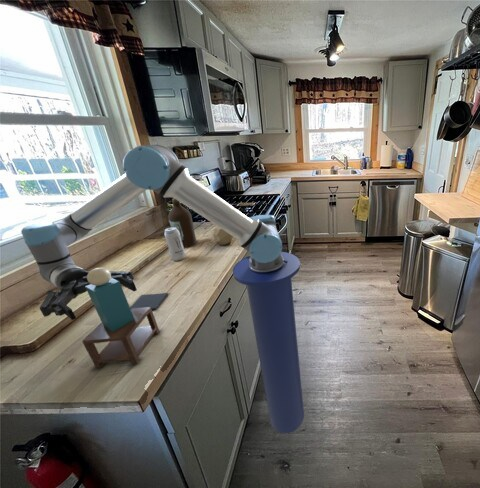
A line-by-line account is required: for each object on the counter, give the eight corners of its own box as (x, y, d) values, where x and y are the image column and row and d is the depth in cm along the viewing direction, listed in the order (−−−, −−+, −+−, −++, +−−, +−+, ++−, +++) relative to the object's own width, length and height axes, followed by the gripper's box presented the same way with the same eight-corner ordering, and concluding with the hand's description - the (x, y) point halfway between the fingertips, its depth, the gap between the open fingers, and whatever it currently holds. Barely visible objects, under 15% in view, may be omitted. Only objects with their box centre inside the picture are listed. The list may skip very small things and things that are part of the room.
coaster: (167, 294, 96) (167, 292, 96) (155, 309, 88) (155, 308, 87) (142, 296, 95) (141, 295, 95) (127, 311, 87) (127, 310, 87)
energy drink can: (180, 261, 121) (171, 231, 115) (169, 260, 122) (160, 231, 116) (188, 256, 126) (181, 227, 120) (178, 255, 127) (169, 226, 121)
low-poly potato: (227, 249, 133) (243, 234, 137) (211, 234, 128) (228, 218, 133) (219, 248, 145) (234, 234, 149) (204, 234, 140) (220, 220, 144)
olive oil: (187, 239, 146) (176, 195, 136) (202, 241, 143) (191, 196, 133) (171, 246, 137) (158, 200, 127) (186, 249, 134) (173, 201, 124)
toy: (125, 313, 71) (103, 261, 65) (135, 319, 69) (113, 266, 63) (103, 325, 67) (77, 271, 61) (112, 332, 65) (87, 276, 58)
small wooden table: (159, 331, 78) (150, 306, 74) (137, 363, 67) (125, 337, 63) (124, 334, 77) (113, 310, 73) (96, 368, 66) (81, 341, 62)
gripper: (123, 272, 88) (158, 288, 78) (19, 313, 69) (47, 342, 59) (116, 252, 85) (150, 266, 75) (4, 289, 66) (31, 315, 56)
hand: (105, 299), depth 67 cm, fingers open, 13 cm apart
